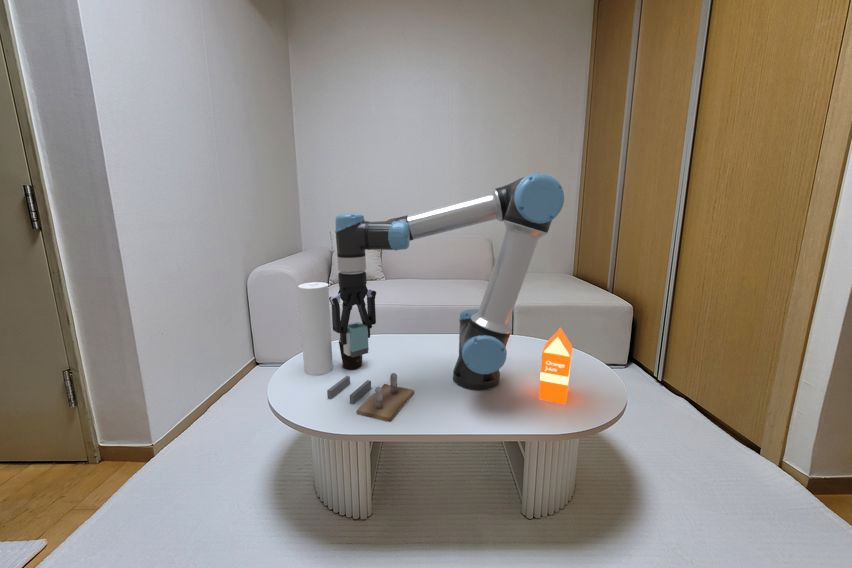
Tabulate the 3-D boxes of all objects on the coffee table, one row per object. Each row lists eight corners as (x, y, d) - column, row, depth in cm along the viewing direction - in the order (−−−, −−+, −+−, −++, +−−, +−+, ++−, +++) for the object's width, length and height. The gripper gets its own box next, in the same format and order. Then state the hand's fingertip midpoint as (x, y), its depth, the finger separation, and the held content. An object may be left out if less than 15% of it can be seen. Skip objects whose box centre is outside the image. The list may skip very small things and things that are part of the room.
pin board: (414, 393, 112) (414, 371, 110) (389, 422, 97) (389, 396, 96) (384, 387, 116) (384, 365, 114) (356, 414, 101) (355, 389, 99)
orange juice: (538, 399, 109) (543, 334, 105) (542, 385, 117) (546, 325, 113) (566, 404, 106) (572, 338, 102) (568, 390, 114) (574, 328, 110)
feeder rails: (371, 388, 115) (370, 380, 114) (353, 404, 106) (353, 396, 105) (346, 383, 118) (346, 375, 118) (327, 398, 109) (327, 390, 109)
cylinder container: (315, 377, 122) (309, 288, 115) (298, 370, 127) (292, 284, 121) (338, 367, 129) (334, 283, 122) (321, 361, 134) (316, 279, 128)
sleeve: (368, 352, 106) (367, 326, 105) (352, 357, 103) (351, 330, 101) (359, 347, 110) (358, 321, 108) (344, 352, 107) (342, 325, 105)
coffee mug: (352, 358, 136) (351, 332, 134) (370, 364, 131) (369, 338, 129) (327, 370, 127) (326, 342, 125) (345, 377, 122) (343, 348, 120)
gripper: (373, 266, 110) (376, 340, 115) (314, 273, 99) (320, 355, 104) (387, 269, 104) (389, 347, 109) (327, 278, 93) (333, 364, 98)
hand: (356, 351), depth 107 cm, fingers closed on sleeve, 5 cm apart
